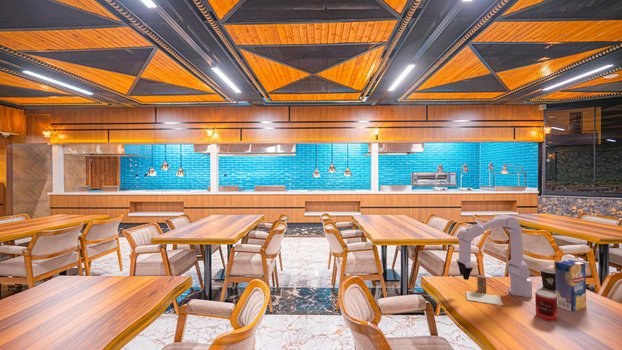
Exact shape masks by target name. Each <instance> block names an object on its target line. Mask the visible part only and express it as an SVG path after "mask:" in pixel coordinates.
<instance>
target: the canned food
mask: <svg viewBox="0 0 622 350" xmlns="http://www.w3.org/2000/svg"><path fill="white" fill-rule="evenodd" d="M534 295H535V315H536V317H538V318H540V319H541V320H544V321H548V322H556V321H557V320H558V306H557V296H556V293H554V292H550V291H549V290H541V289H537V290H535V294H534Z"/></svg>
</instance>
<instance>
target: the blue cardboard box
mask: <svg viewBox="0 0 622 350" xmlns="http://www.w3.org/2000/svg"><path fill="white" fill-rule="evenodd" d="M554 270H555V284H556V291H555V295H556V296H557V307H559V308H562V309H565V310H568V311H570V312H576V311H579V309H580V310H583V309H586V308H587V285H586V284H587V282H586V281H587V278H586V263H585V262H581V261H577V260H573V259H570V258H569V259H565V260H558V261H554ZM585 307H586V308H585ZM582 308H583V309H582Z"/></svg>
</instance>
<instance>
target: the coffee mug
mask: <svg viewBox="0 0 622 350" xmlns="http://www.w3.org/2000/svg"><path fill="white" fill-rule="evenodd" d="M539 271H540V276H541V283H542V288H543V289H545V290H547V291H555V292H556V284H555V269H550V268H540V269H539Z"/></svg>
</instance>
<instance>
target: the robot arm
mask: <svg viewBox="0 0 622 350" xmlns="http://www.w3.org/2000/svg"><path fill="white" fill-rule="evenodd" d="M495 227H502V228H504V229H505V230H507V231H508V232H509V245H510V246H509V247H510V260H508V261H507V266H506V272H507V273H508V275H509V278H510V279H509V280H510V281H509V283H510V284H509V285H510V286H509V287H510V288H508V291H509V293H510V295H512V296H517V297H525V298H530V299H531V298H533V283H532V279H531V278H530V275H531V272H530V269H529V266H528V264H527V263H526V262H525V261H524V251H523V250H524V248H523V230H522V226H521V225H520V220H519V219H518V218H517V217H515V216H508V215H503V214H498V215H496V216H494V217H493V218H491V219H489V220H488V221H486V222H484V223H482V224H477V223H475V224H473V225H472V226H470V227H467V228H465V229H461V230H459V231H458V233H457V234H456V237H457V239H458V258H456V264H457V266H458V269H459V271H458V272H459V274H460V276H462V278H463V280H466V281H469V279H470V276H471V273H472V271H473V269H474V267H472V266H471V264H472V261H471V259H472V258H471V257H472V255H471V254H472V242H473V241H474V239H476V238H478V237H479V236H481V235H484V234H485V231H488V230H489V229H492V228H495Z"/></svg>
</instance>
